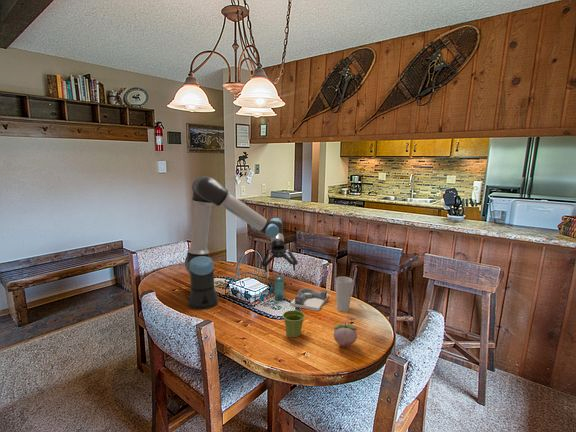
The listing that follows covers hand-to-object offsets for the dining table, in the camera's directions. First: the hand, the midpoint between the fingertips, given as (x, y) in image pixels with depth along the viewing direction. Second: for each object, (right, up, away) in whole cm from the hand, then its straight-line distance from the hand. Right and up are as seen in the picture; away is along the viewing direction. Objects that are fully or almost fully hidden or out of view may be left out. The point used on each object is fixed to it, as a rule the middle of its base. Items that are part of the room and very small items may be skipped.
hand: (280, 276), depth 175 cm
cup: (+31, -13, -15) cm, 37 cm away
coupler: (-1, -11, -4) cm, 12 cm away
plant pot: (+6, -18, -37) cm, 42 cm away
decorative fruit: (+27, -19, -46) cm, 56 cm away
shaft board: (+16, -12, -6) cm, 20 cm away
